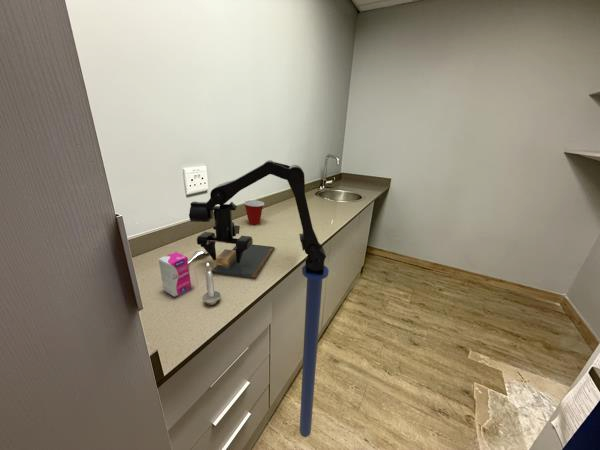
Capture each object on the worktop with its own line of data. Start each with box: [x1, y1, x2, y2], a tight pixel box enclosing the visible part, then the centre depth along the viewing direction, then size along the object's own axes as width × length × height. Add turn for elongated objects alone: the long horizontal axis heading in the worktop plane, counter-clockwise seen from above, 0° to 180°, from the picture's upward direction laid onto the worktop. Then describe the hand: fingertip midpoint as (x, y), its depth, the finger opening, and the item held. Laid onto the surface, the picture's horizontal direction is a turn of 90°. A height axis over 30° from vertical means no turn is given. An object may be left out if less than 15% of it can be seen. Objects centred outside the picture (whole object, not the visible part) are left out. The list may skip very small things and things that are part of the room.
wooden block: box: [215, 248, 237, 269], centre depth 88 cm, size 4×7×4 cm, turn 170°
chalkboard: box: [211, 243, 275, 280], centre depth 94 cm, size 16×24×1 cm, turn 170°
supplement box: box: [158, 251, 192, 299], centre depth 73 cm, size 6×6×12 cm
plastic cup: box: [243, 199, 265, 226], centre depth 131 cm, size 11×11×12 cm
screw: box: [201, 262, 221, 306], centre depth 68 cm, size 13×5×5 cm
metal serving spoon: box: [188, 248, 209, 264], centre depth 89 cm, size 20×4×5 cm
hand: (226, 261), depth 89 cm, fingers open, 9 cm apart
